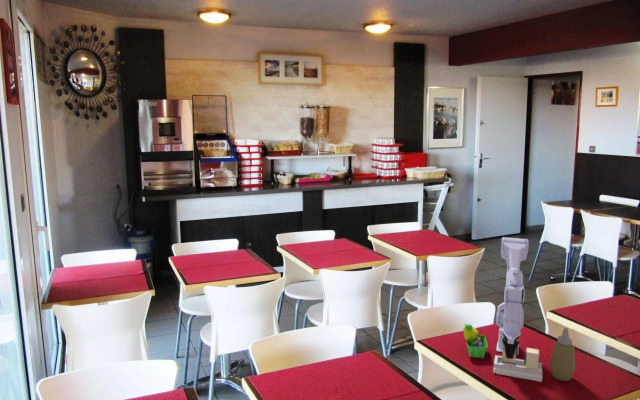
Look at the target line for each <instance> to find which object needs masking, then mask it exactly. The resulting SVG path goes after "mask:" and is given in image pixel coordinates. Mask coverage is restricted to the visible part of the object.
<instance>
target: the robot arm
mask: <svg viewBox="0 0 640 400" xmlns="http://www.w3.org/2000/svg"><path fill="white" fill-rule="evenodd" d="M500 242H501V243H500V245H501V246H500V256H501V259H503V260H505V262H506V276H505V280H506V281H505V287H504V294H503V295H504V296H503V299H504V301H503V302H501V304H499V305H498V306H497V307H496V308H497V310H496V319H495V321H496V322H495V324H496V326H498V327H499V328H498V341H497V343H496V350H495V351H496V352H499V353H503V344H504V346H505V352H506V358H510V359H513V356H514V353H515V349H516V347H517V346H518V350H519V348H520V347H519V345H520V340H519V338H520V336H521V329H523V328H524V323H525V322H524V320H525V319H524V316H525V314H524V309H523V304H524V303H525V302H524V301H525V295H526V294H525V293H526V292H525V286H524V280H523V279H524V273H523V272H522V271H521V270H520V268H521V262H523V261H526V259H527V257H528V253H529V247H530V244H529V243H530V241H529V239H528V238H514V237H505V236H503V237H502V238H501V241H500ZM515 340H517V341H515ZM518 355H519V351H518V352H517V356H518Z"/></svg>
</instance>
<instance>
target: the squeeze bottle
mask: <svg viewBox="0 0 640 400" xmlns="http://www.w3.org/2000/svg"><path fill="white" fill-rule="evenodd" d="M575 350H576V349H575V346H574V345H573V339H572V338H571V337H570V335H569V328H567V327H564V328H563V330H562V334H561V335H559V336H558V337H557V341H556V342H555V343H554V345H553V349H552V354H551V359H550V365H549V367H550V372H551V374H552V377H553V378H555V380H558V381H563V382H568V381H570V380H571V379H572V378H573V375H574V373H575V371H576V352H575Z"/></svg>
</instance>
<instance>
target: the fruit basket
mask: <svg viewBox="0 0 640 400" xmlns="http://www.w3.org/2000/svg"><path fill="white" fill-rule="evenodd" d="M462 329H463V336H464V337H463V338H464V339H465V341H466V346H467V347H466V348H467V352H468V357H469V358H480V359H484V357H485V354H486V351H487V349H488V347H489V346H488V341H487V338H486V335H483V334H479V331H478V330H477V329H476V328H475V327H474V326H473V325H472V324H469V323H468V324H466V323H465V324H464V326H463V328H462Z"/></svg>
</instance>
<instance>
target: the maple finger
mask: <svg viewBox="0 0 640 400" xmlns="http://www.w3.org/2000/svg"><path fill="white" fill-rule="evenodd" d="M515 341H517V340H515ZM517 352H518V353H519V349H518V346H517V347H516V349H515V353H514V356H513V359H510V358H506V352H505V346H504V344H503V352H502V355H501V356H502V361H505V362H511V363H515V359H517V358H518V355H517Z"/></svg>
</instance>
